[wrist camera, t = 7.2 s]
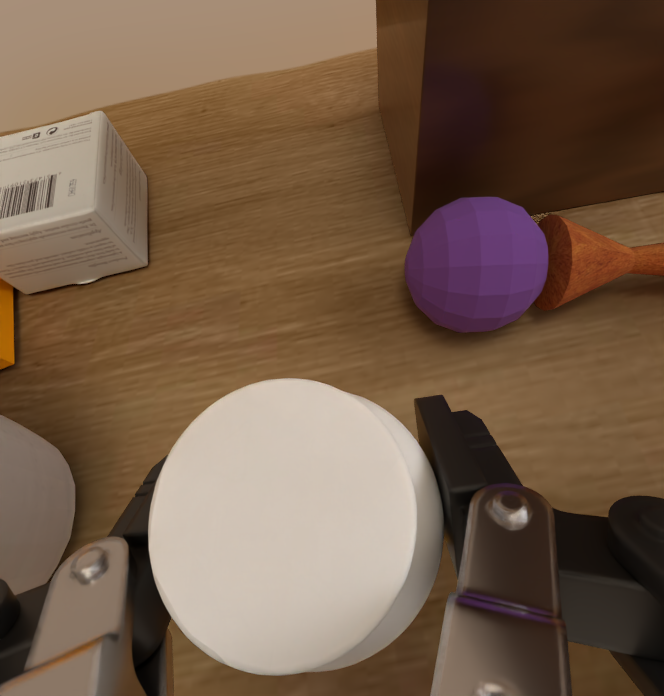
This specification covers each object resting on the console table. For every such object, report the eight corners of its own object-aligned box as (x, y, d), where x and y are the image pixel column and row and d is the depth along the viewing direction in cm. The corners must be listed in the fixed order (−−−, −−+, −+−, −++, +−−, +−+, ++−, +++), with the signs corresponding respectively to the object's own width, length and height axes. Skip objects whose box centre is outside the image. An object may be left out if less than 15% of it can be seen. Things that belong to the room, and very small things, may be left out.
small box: (-29, 137, 23) (39, 202, 28) (-57, 245, 20) (25, 299, 25) (103, 105, 23) (149, 176, 28) (97, 209, 20) (151, 269, 25)
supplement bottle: (276, 442, 16) (135, 343, 7) (416, 439, 15) (447, 325, 7) (267, 602, 14) (53, 739, 5) (429, 607, 13) (502, 773, 4)
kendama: (1000, 292, 14) (422, 312, 15) (812, 334, 20) (402, 347, 21) (941, 143, 16) (411, 169, 16) (781, 223, 21) (395, 239, 22)
